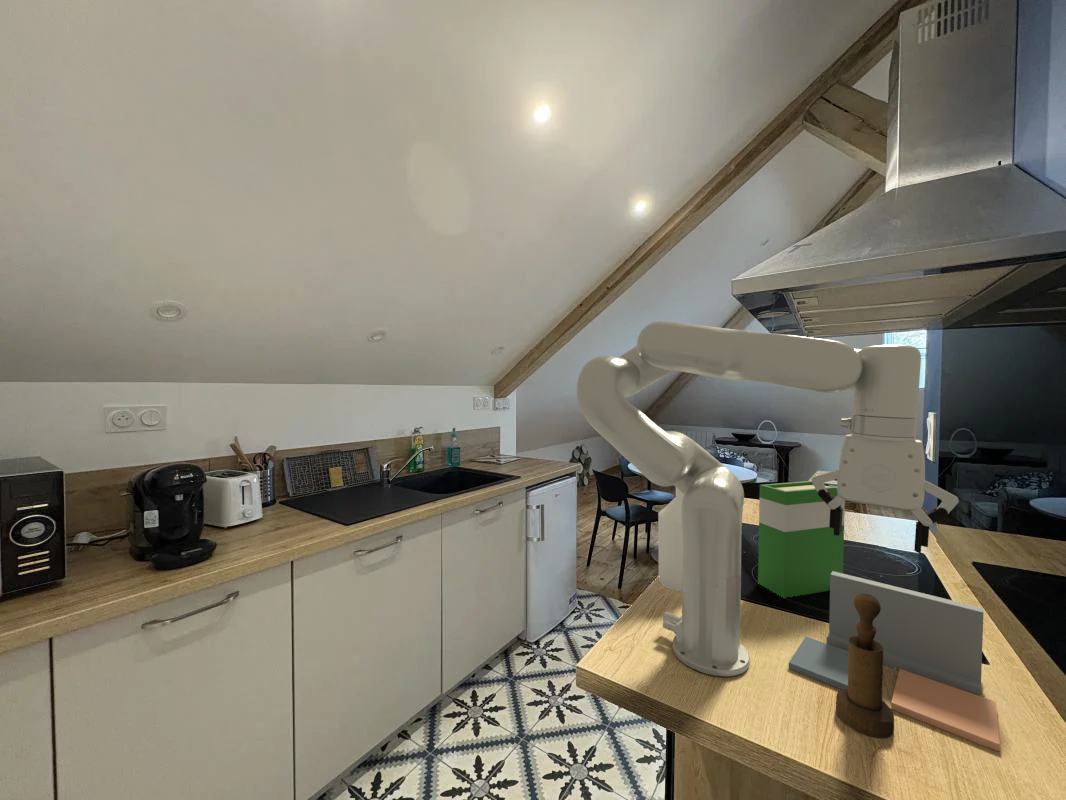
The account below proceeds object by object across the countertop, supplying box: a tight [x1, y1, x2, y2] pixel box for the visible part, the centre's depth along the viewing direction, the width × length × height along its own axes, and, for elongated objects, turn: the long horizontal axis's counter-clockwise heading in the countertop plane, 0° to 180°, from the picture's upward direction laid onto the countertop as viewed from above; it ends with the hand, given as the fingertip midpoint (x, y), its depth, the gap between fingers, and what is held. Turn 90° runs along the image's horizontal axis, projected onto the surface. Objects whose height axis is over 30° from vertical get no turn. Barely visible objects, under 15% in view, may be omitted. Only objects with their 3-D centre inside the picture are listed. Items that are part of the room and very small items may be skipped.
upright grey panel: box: [826, 571, 984, 697], centre depth 77 cm, size 20×6×12 cm, turn 46°
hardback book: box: [757, 480, 846, 599], centre depth 106 cm, size 18×7×24 cm, turn 107°
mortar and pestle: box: [835, 594, 895, 739], centre depth 63 cm, size 7×6×18 cm
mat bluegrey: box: [788, 636, 849, 690], centre depth 75 cm, size 11×11×1 cm
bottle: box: [657, 487, 684, 593], centre depth 108 cm, size 12×12×25 cm
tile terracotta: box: [890, 669, 1001, 752], centre depth 66 cm, size 11×11×1 cm
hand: (875, 541), depth 67 cm, fingers open, 9 cm apart
